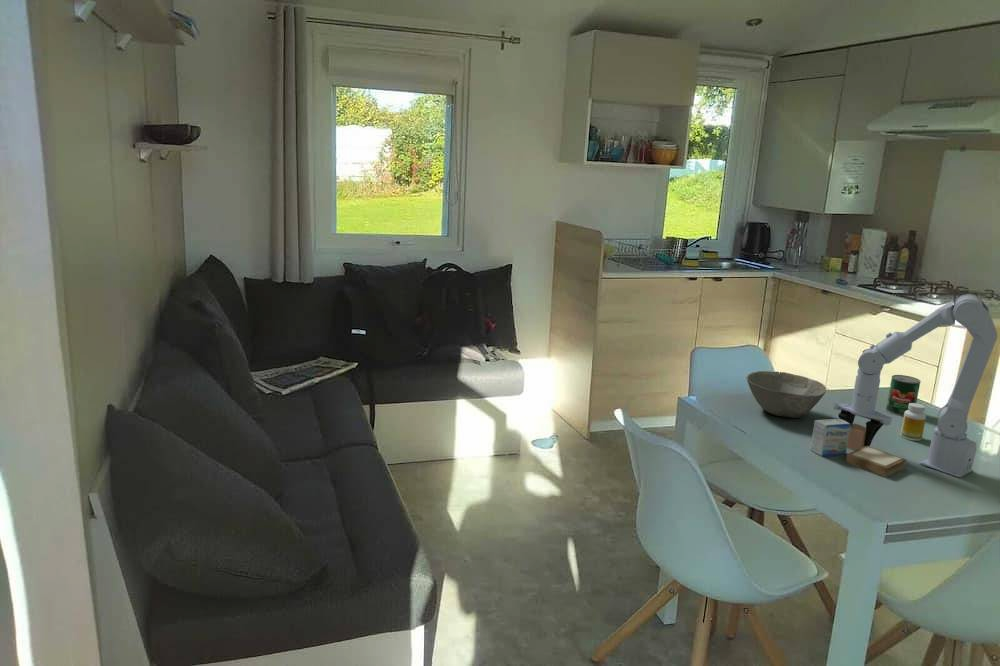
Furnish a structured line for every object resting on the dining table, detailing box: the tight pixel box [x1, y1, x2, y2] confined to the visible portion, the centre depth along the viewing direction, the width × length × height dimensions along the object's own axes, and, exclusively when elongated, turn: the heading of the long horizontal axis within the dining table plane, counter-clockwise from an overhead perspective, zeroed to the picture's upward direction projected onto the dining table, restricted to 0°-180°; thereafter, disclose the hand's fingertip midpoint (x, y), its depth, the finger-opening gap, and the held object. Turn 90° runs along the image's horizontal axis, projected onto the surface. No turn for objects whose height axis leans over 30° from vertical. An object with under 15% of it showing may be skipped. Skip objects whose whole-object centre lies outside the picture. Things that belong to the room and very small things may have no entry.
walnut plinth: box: [845, 446, 907, 478], centre depth 180 cm, size 10×10×2 cm
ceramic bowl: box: [745, 370, 827, 419], centre depth 214 cm, size 22×23×10 cm
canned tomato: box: [885, 374, 921, 417], centre depth 220 cm, size 8×8×11 cm
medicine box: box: [809, 418, 851, 457], centre depth 187 cm, size 8×4×9 cm, turn 105°
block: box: [847, 422, 871, 451], centre depth 191 cm, size 5×5×6 cm
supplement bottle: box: [899, 402, 927, 442], centre depth 200 cm, size 5×5×10 cm
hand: (856, 441), depth 192 cm, fingers closed on block, 5 cm apart
